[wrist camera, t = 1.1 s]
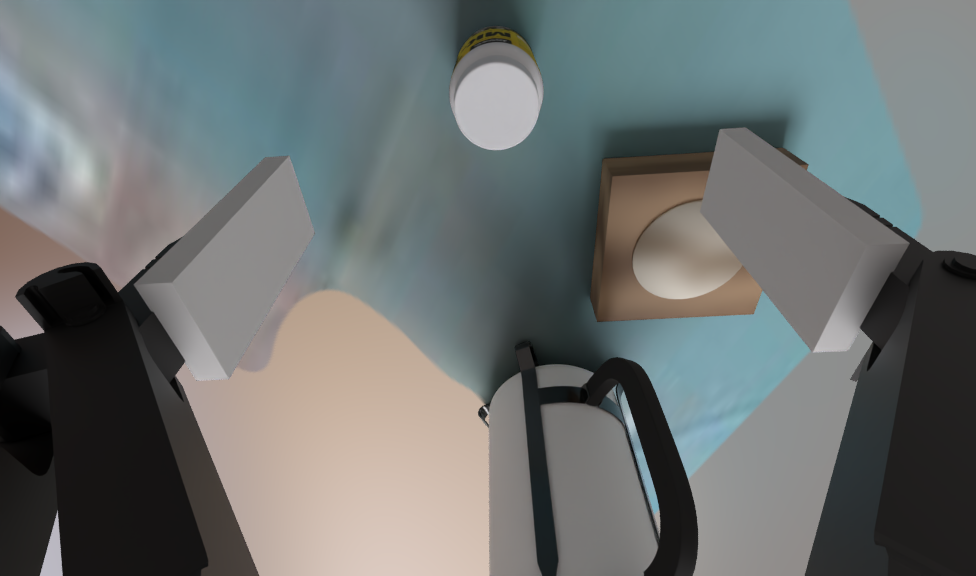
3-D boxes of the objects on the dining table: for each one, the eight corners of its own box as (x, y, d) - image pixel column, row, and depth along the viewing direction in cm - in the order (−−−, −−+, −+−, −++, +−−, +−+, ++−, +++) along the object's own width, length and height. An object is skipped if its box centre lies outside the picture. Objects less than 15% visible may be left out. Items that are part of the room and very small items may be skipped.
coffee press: (647, 416, 48) (815, 898, 23) (502, 448, 51) (517, 901, 27) (617, 291, 38) (850, 894, 14) (439, 340, 41) (374, 899, 17)
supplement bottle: (510, 6, 26) (518, 27, 19) (547, 83, 28) (567, 125, 21) (439, 55, 27) (424, 90, 21) (481, 124, 30) (480, 175, 23)
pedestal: (602, 158, 31) (613, 177, 28) (783, 147, 31) (810, 165, 28) (590, 298, 38) (597, 323, 36) (736, 290, 38) (754, 315, 35)
